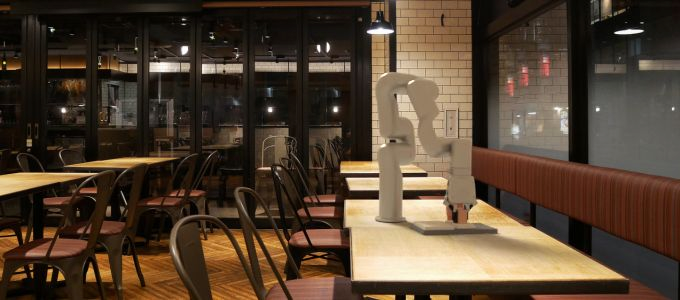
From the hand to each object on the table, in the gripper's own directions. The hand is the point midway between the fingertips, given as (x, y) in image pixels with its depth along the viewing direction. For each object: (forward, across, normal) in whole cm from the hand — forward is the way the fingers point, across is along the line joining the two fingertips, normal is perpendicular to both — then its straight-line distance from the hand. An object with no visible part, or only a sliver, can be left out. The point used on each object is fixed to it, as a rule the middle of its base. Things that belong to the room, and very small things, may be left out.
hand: (459, 221), depth 223 cm
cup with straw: (+3, +5, +18) cm, 19 cm away
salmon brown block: (+1, 0, 0) cm, 1 cm away
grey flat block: (+3, -3, 0) cm, 4 cm away
